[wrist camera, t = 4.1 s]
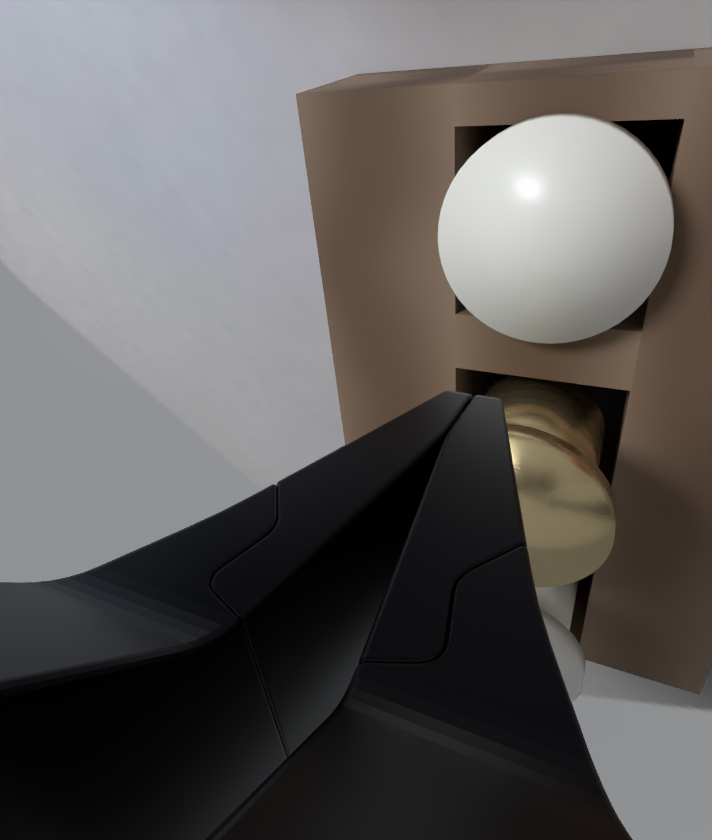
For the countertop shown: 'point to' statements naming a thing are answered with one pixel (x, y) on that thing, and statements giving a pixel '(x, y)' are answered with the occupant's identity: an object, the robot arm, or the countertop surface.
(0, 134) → the countertop surface
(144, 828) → the robot arm
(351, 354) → the control panel
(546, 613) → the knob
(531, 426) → the brass knob
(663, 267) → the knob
